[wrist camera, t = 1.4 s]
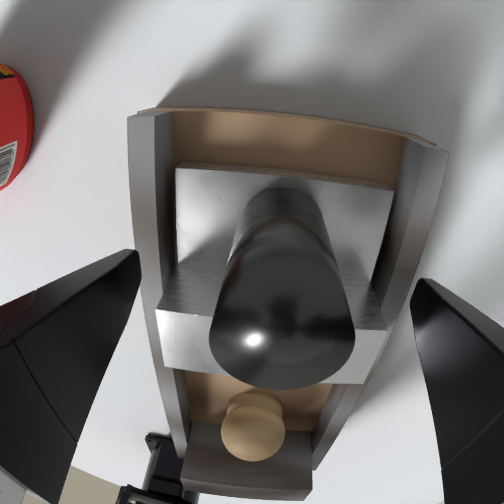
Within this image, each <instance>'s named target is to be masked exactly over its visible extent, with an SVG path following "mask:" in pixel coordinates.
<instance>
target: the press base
mask: <svg viewBox="0 0 504 504" xmlns="http://www.w3.org/2000/svg"><path fill="white" fill-rule="evenodd" d="M127 137H128V166H129V185H130V199H131V212H132V223H133V233H134V243H135V250H137V251H138V252H139V256H140V264H141V272H142V279H141V283H140V289H141V296H142V302H143V308H144V314H145V320H146V326H147V331H148V337H149V342H150V347H151V352H152V357H153V362H154V366H155V371H156V375H157V380H158V384H159V389H160V393H161V397H162V401H163V405H164V409H165V413H166V417H167V421H168V424H169V428H170V432H171V435H172V439H173V442H174V446H175V449H176V452H177V456H178V458H183V459H184V461H183V466H182V471H181V475H180V479H181V482H182V485H183V487H184V490H188V491H193V492H199V493H205V494H212V495H220V496H228V497H237V498H248V499H261V500H284V501H304V499H305V498H306V497H307V496H308V495H309V493H310V492H311V491H312V470H316V469H317V467H318V466H319V464H320V463H321V461H322V460H323V458H324V457H325V455H326V454H327V452H328V451H329V449H330V447H331V446H332V444H333V443H334V441H335V439H336V438H337V436H338V434H339V433H340V431H341V429H342V428H343V426H344V424H345V423H346V421H347V419H348V417H349V416H350V414H351V412H352V410H353V409H354V407H355V405H356V403H357V401H358V400H359V398H360V396H361V394H362V392H363V390H364V388H365V386H366V385H367V383H368V381H369V379H370V377H371V375H372V373H373V371H374V369H375V367H376V365H377V363H378V361H379V358H380V356H381V354H382V352H383V350H384V348H385V346H386V343H387V341H388V339H389V337H390V335H391V332H392V330H393V328H394V325H395V323H396V321H397V318H398V316H399V314H400V311H401V309H402V306H403V304H404V301H405V299H406V296H407V294H408V291H409V288H410V286H411V283H412V280H413V278H414V275H415V272H416V269H417V267H418V264H419V261H420V258H421V255H422V252H423V249H424V246H425V243H426V240H427V236H428V233H429V230H430V227H431V223H432V220H433V216H434V213H435V209H436V206H437V202H438V198H439V194H440V191H441V187H442V183H443V178H444V174H445V170H446V165H447V161H448V156H449V153H448V152H446V151H444V150H442V149H440V148H438V147H436V144H434V143H432V142H430V141H428V140H425V139H423V138H421V137H419V136H415V135H411V134H407V133H403V132H398V131H394V130H389V129H385V128H380V127H375V126H370V125H364V124H359V123H353V122H348V121H342V120H335V119H329V118H322V117H315V116H307V115H299V114H290V113H281V112H271V111H259V110H246V109H229V108H202V107H155V108H150V109H146V110H142V111H138V112H137V114H136V115H133V116H129V117H127ZM182 162H196V163H214V164H228V165H241V166H253V167H264V168H275V169H284V170H294V171H302V172H311V173H319V174H327V175H334V176H341V177H348V178H355V179H361V180H368V181H374V182H380V183H386V184H387V185H388V186H389V187H390V188H391V189H392V190H393V191H394V195H393V199H392V203H391V208H390V212H389V216H388V220H387V224H386V228H385V232H384V235H383V239H382V243H381V246H380V250H379V254H378V257H377V261H376V264H375V267H374V271H373V274H372V277H371V281H370V283H371V286H372V289H373V291H374V294H375V296H376V299H377V302H378V304H379V307H380V310H381V312H382V315H383V318H384V321H385V323H386V326H387V329H388V332H387V334H386V337H385V339H384V341H383V343H382V346H381V348H380V350H379V352H378V354H377V356H376V359H375V361H374V363H373V365H372V367H371V369H370V371H369V373H368V375H367V377H366V379H365V381H364V383H363V384H336V383H317V384H314V385H311V386H308V387H303V388H299V389H291V390H271V389H264V388H259V387H255V386H252V385H249V384H246V383H244V382H241V381H240V380H238V379H236V378H234V377H233V376H226V375H218V374H210V373H203V372H196V371H190V370H183V369H177V368H171V367H165V366H164V360H163V354H162V348H161V342H160V336H159V330H158V323H157V316H156V307H157V305H158V303H159V301H160V299H161V297H162V295H163V293H164V291H165V289H166V287H167V285H168V283H169V281H170V279H171V277H172V275H173V273H174V271H175V269H176V267H177V265H178V252H177V227H176V183H175V168H176V167H178V166H179V165H180V164H181V163H182ZM245 392H260V393H265V394H269V395H271V396H273V397H275V398H277V399H278V400H279V401H280V402H281V404H282V420H283V423H284V426H285V437H284V441H283V443H282V445H281V447H280V448H279V450H278V451H277V452H276V453H275V454H273V455H272V456H270V457H269V458H267V459H264V460H260V461H246V460H242V459H239V458H237V457H236V456H234V455H233V454H231V453H230V452H229V451H228V450H227V448H226V447H225V445H224V443H223V441H222V437H221V427H222V423H223V421H224V418H225V417H226V415H227V409H228V402H229V400H230V399H231V398H232V397H233V396H235V395H237V394H240V393H245Z"/></svg>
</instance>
